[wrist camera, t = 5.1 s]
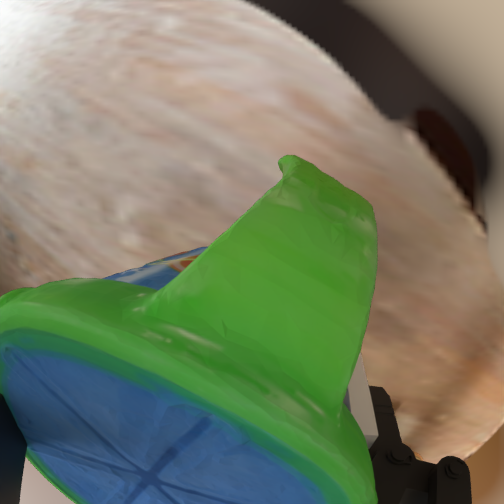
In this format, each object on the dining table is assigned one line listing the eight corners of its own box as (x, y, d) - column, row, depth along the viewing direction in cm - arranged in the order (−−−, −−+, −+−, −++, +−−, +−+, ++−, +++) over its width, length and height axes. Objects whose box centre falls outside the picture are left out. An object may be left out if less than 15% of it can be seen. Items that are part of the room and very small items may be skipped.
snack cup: (231, 442, 17) (185, 574, 7) (96, 346, 17) (-10, 445, 7) (424, 263, 12) (565, 413, 3) (237, 113, 12) (71, 0, 2)
